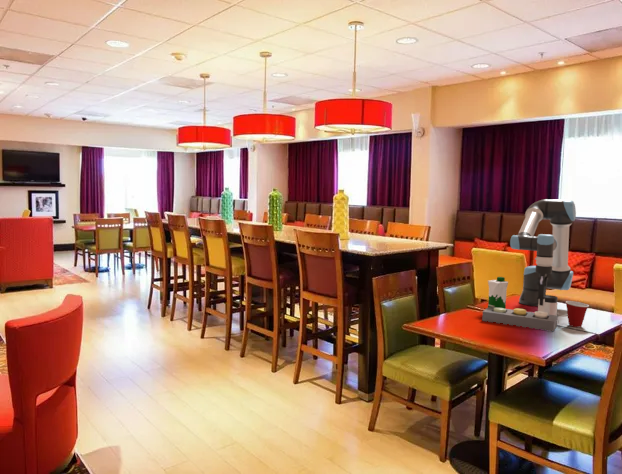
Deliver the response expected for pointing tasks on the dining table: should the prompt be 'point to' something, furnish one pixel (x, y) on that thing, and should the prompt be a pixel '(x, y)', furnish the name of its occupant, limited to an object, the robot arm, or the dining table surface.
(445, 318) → the dining table surface
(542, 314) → the cream button
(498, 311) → the sage button
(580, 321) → the plastic cup
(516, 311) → the mustard button
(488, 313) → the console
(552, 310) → the jar
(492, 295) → the milk carton
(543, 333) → the dining table surface
